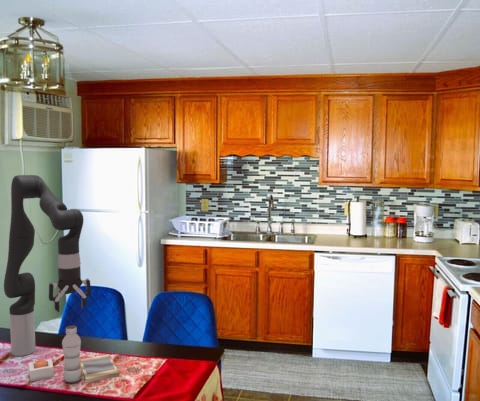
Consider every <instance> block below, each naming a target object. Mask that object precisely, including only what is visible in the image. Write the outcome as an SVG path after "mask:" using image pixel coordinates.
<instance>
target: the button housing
mask: <svg viewBox="0 0 480 401" xmlns="http://www.w3.org/2000/svg"><path fill="white" fill-rule="evenodd" d="M45 360H46V361H47V366H46V367H41V368H35V362H36V361H37V360H35V361H30V362H28V375H29V382H30V383H31V382H36V381H37V382H38V381H41V380H47V379H51V378H54V376H55V375H54V373H55V372H54V371H55V370H54V365H53V360H52V358H46V359H45Z"/></svg>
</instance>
